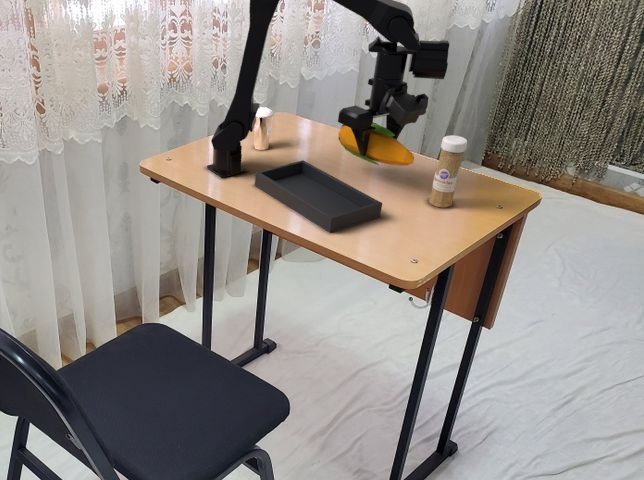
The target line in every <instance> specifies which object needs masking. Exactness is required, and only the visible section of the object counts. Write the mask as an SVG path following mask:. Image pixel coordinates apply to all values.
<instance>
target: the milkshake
mask: <svg viewBox="0 0 644 480" xmlns="http://www.w3.org/2000/svg"><path fill="white" fill-rule="evenodd" d="M274 114H275V113H274V111H273V110H272V109H271V108H269V107H264V106H260V107H259V108H258V111H257V113H256V123H255V125H254V128H253V131H254V133H253V136H254V139H253V140H254V148H255V149H256V150H259V151H265V150H268V149H269V147H270V146H269V145H270V138H271V132H272V126H273V121H274Z"/></svg>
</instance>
